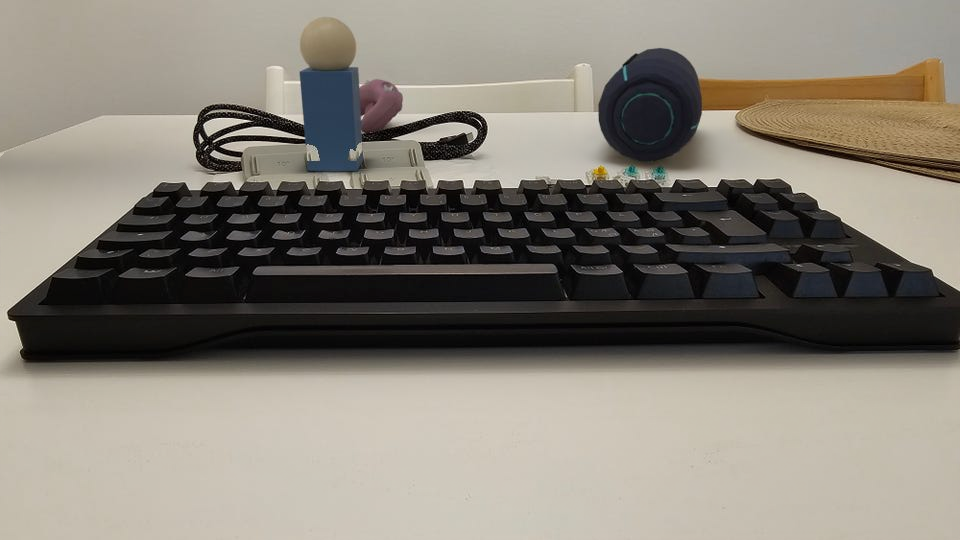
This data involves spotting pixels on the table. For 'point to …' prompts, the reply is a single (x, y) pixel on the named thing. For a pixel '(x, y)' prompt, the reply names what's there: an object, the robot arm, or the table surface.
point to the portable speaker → (651, 105)
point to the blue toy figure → (330, 94)
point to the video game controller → (378, 104)
